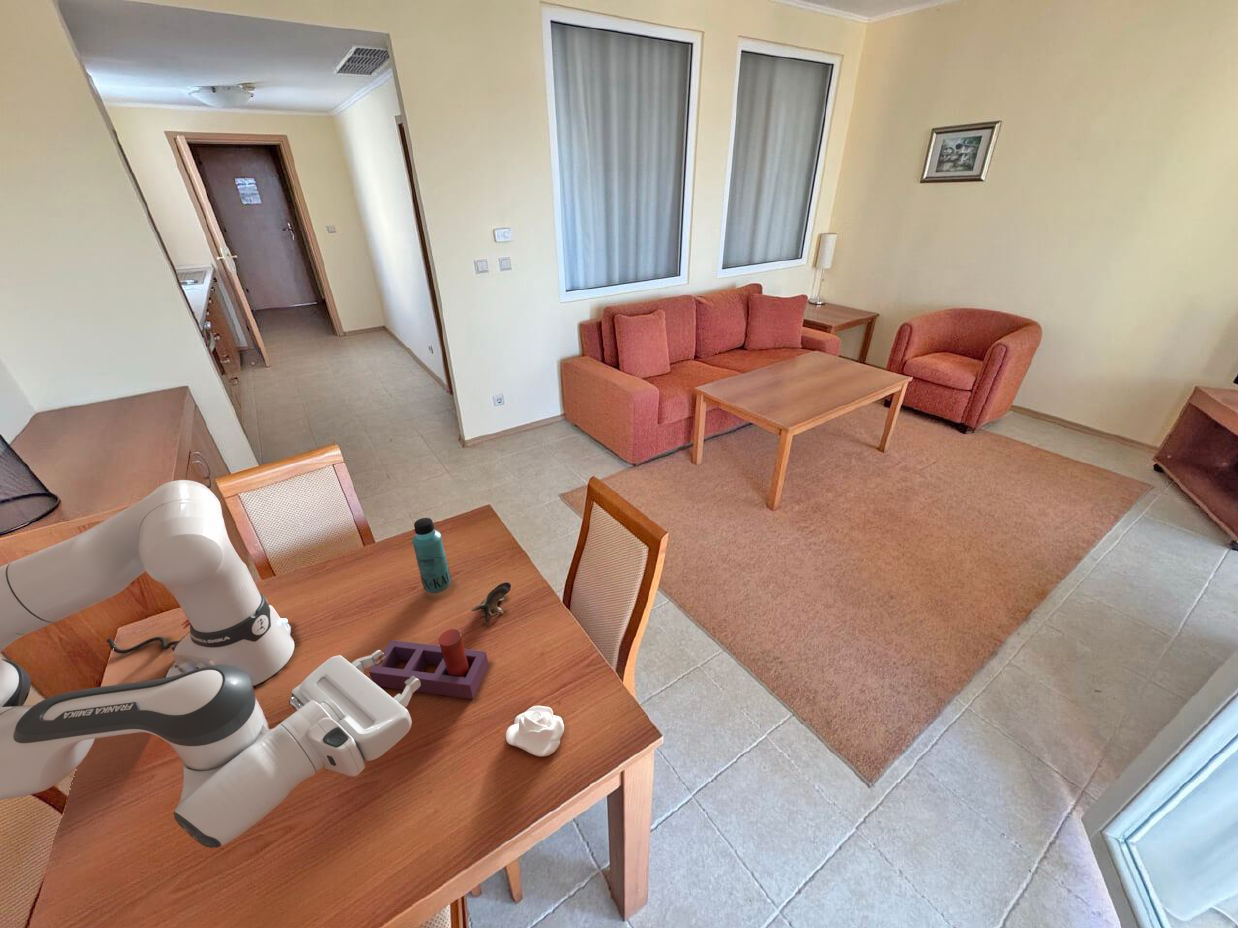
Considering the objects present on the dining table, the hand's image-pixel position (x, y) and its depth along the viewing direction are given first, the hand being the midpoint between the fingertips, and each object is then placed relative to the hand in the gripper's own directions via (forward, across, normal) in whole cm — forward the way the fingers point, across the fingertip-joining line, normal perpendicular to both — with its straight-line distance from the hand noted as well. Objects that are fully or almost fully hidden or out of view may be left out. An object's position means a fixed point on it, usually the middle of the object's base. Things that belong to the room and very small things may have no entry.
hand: (399, 666), depth 83 cm
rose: (+10, +20, -14) cm, 26 cm away
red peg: (+10, 0, -14) cm, 17 cm away
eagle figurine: (+26, -8, -14) cm, 31 cm away
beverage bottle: (+24, -24, -14) cm, 37 cm away
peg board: (+8, -6, -14) cm, 17 cm away
